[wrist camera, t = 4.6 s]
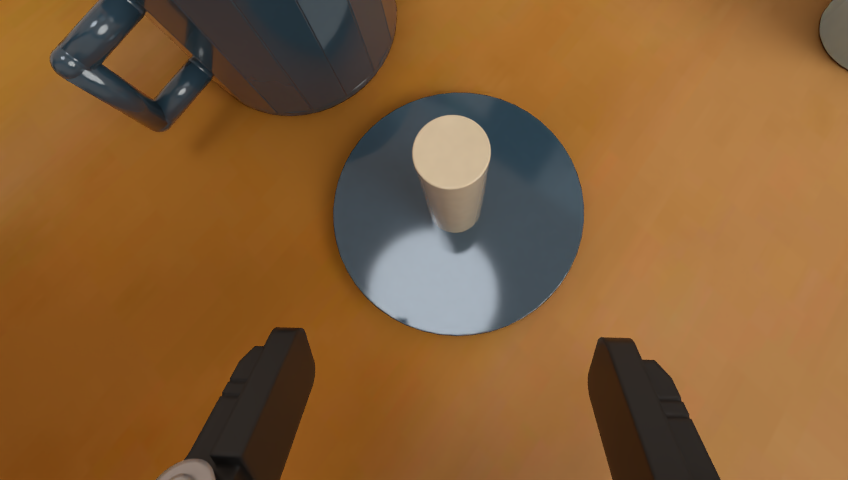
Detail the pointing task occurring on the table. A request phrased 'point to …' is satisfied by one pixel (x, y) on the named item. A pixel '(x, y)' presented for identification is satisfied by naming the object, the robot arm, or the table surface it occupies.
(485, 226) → the pot lid
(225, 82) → the metal pot
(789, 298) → the table surface
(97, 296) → the table surface
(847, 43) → the cup
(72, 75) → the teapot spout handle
